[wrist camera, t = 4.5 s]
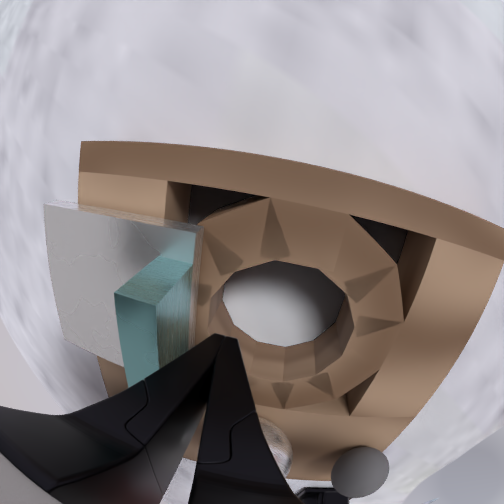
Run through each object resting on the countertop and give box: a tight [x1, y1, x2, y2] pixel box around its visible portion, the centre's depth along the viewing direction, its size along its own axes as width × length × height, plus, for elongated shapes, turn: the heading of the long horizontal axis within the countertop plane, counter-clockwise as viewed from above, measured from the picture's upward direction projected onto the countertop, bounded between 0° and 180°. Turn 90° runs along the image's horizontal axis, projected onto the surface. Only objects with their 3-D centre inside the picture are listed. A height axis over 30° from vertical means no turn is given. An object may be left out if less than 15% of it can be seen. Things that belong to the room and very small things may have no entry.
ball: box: [197, 417, 293, 478], centre depth 10 cm, size 4×4×4 cm
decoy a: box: [331, 447, 389, 498], centre depth 11 cm, size 4×4×4 cm
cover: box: [44, 200, 204, 387], centre depth 9 cm, size 7×7×3 cm
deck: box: [78, 141, 504, 481], centre depth 13 cm, size 20×18×2 cm
